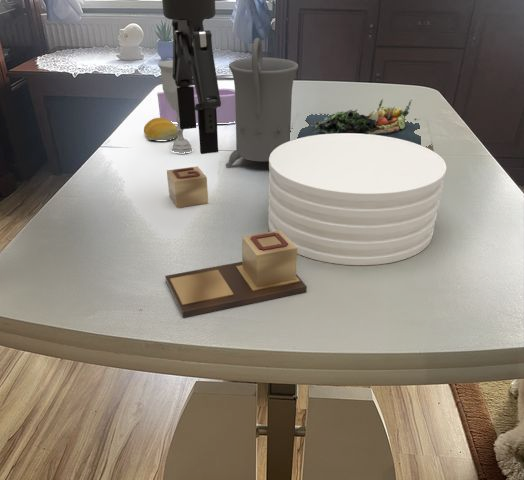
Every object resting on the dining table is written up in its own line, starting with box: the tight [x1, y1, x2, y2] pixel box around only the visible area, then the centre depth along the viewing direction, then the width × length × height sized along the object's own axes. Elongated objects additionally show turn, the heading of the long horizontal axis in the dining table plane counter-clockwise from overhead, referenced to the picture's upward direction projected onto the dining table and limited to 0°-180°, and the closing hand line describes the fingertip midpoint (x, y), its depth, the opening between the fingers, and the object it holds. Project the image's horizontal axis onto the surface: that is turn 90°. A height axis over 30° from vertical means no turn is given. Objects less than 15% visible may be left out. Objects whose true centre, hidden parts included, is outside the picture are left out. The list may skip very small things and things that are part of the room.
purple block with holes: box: [157, 85, 236, 123], centre depth 144 cm, size 20×12×7 cm, turn 81°
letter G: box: [166, 166, 209, 209], centre depth 102 cm, size 6×6×5 cm
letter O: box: [241, 230, 298, 287], centre depth 78 cm, size 6×6×5 cm
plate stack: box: [268, 133, 447, 266], centre depth 91 cm, size 28×28×12 cm
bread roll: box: [143, 117, 179, 141], centre depth 133 cm, size 8×9×4 cm
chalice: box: [157, 60, 193, 153], centre depth 120 cm, size 7×7×18 cm
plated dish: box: [297, 99, 435, 152], centre depth 136 cm, size 35×28×7 cm
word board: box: [164, 261, 308, 319], centre depth 78 cm, size 18×10×1 cm, turn 111°
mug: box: [225, 37, 299, 168], centre depth 111 cm, size 19×15×25 cm
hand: (198, 139), depth 90 cm, fingers open, 13 cm apart
